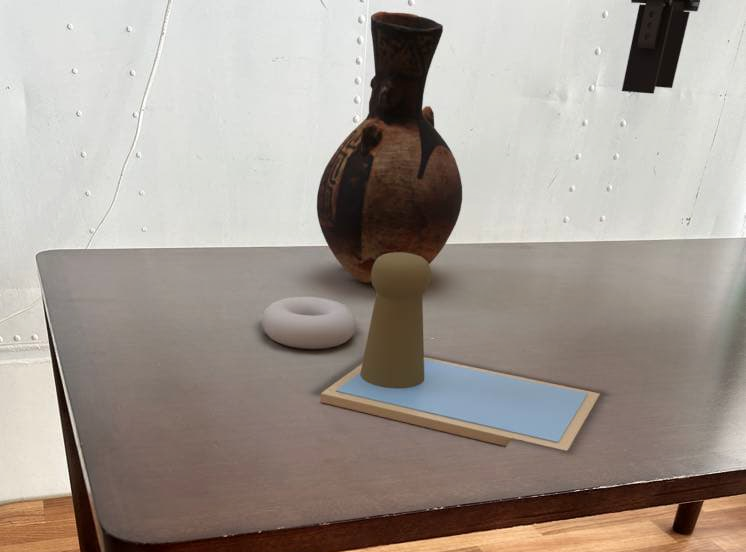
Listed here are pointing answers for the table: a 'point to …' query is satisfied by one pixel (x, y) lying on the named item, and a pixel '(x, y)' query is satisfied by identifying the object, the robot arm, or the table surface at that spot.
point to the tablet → (473, 404)
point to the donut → (309, 322)
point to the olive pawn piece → (397, 322)
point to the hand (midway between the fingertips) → (648, 90)
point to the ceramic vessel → (392, 159)
